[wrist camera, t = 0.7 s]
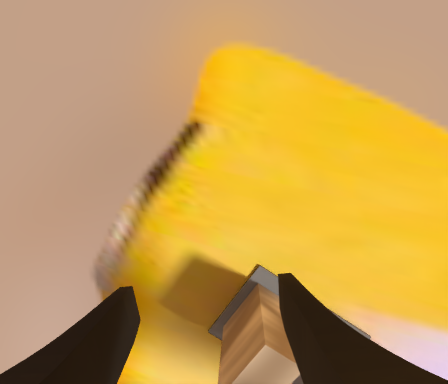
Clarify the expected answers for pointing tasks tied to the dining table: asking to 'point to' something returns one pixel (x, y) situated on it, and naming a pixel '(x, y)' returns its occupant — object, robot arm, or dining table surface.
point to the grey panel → (257, 277)
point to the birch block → (257, 343)
